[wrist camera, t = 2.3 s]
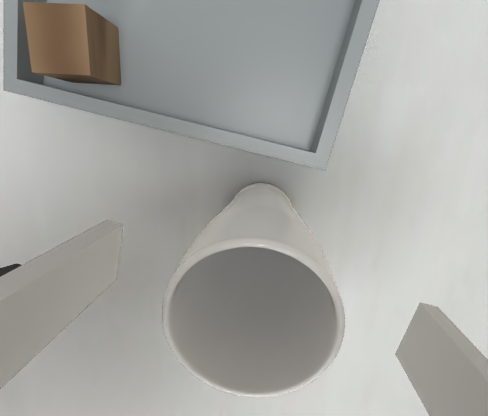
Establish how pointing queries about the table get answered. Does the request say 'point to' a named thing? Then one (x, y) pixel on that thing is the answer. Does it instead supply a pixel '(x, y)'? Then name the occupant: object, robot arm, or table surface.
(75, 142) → the table surface
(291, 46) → the collection tray
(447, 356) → the robot arm
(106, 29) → the walnut cube
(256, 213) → the drinking glass
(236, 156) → the table surface
